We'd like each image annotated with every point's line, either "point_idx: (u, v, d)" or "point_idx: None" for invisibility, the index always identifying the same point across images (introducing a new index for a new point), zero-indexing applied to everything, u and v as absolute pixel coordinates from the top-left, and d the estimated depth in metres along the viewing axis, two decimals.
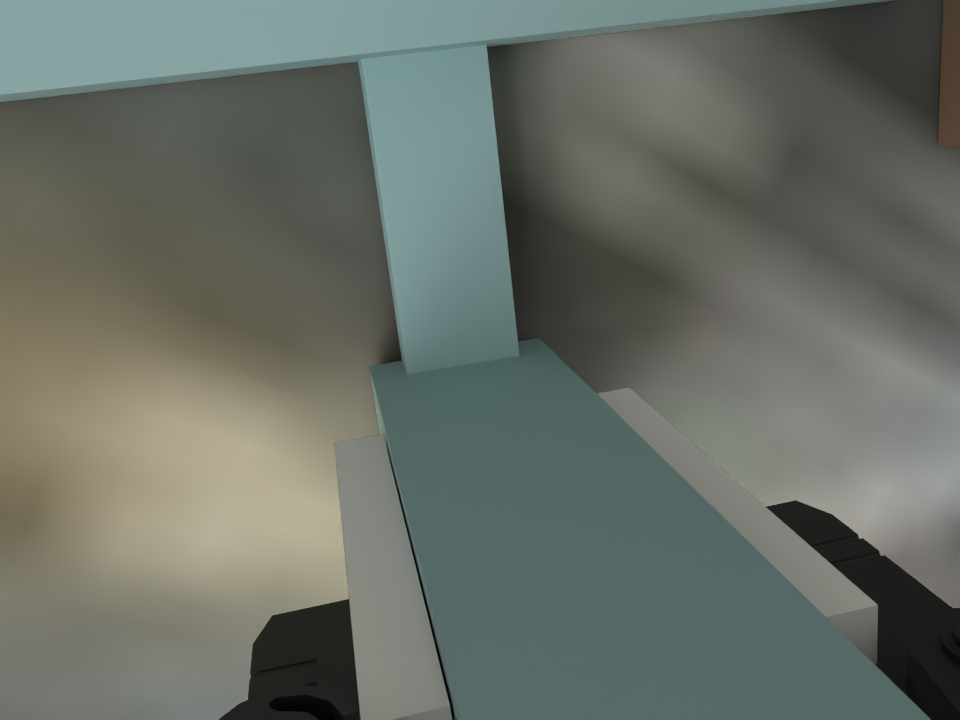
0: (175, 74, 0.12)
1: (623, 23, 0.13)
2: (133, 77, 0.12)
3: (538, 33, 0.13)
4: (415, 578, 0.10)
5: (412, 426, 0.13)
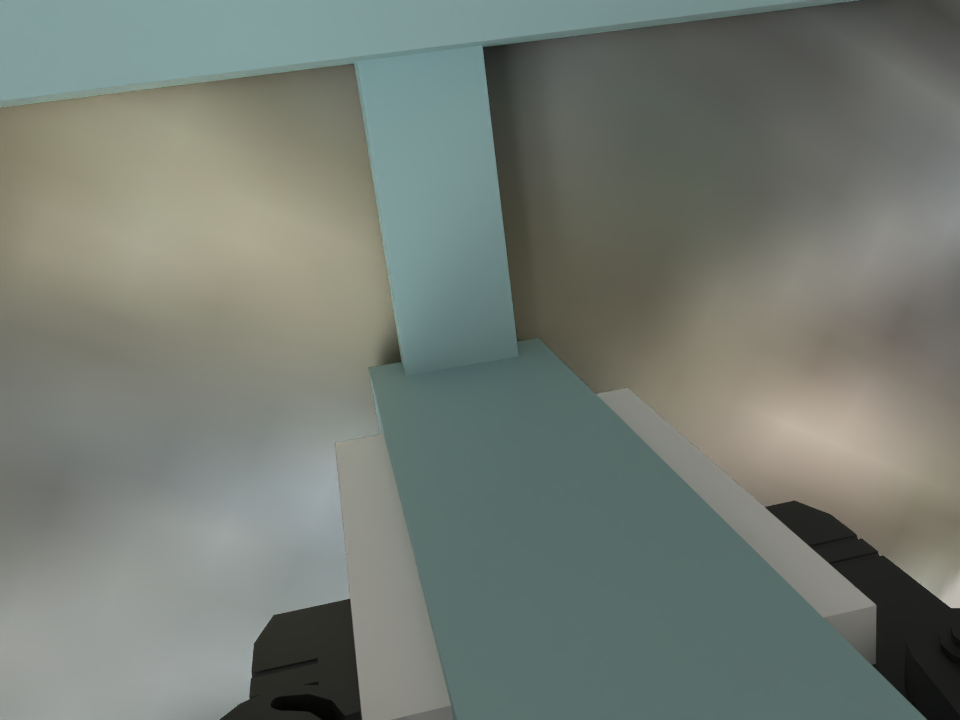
0: (171, 78, 0.12)
1: (619, 22, 0.13)
2: (129, 83, 0.12)
3: (534, 33, 0.13)
4: (416, 578, 0.10)
5: (412, 428, 0.13)
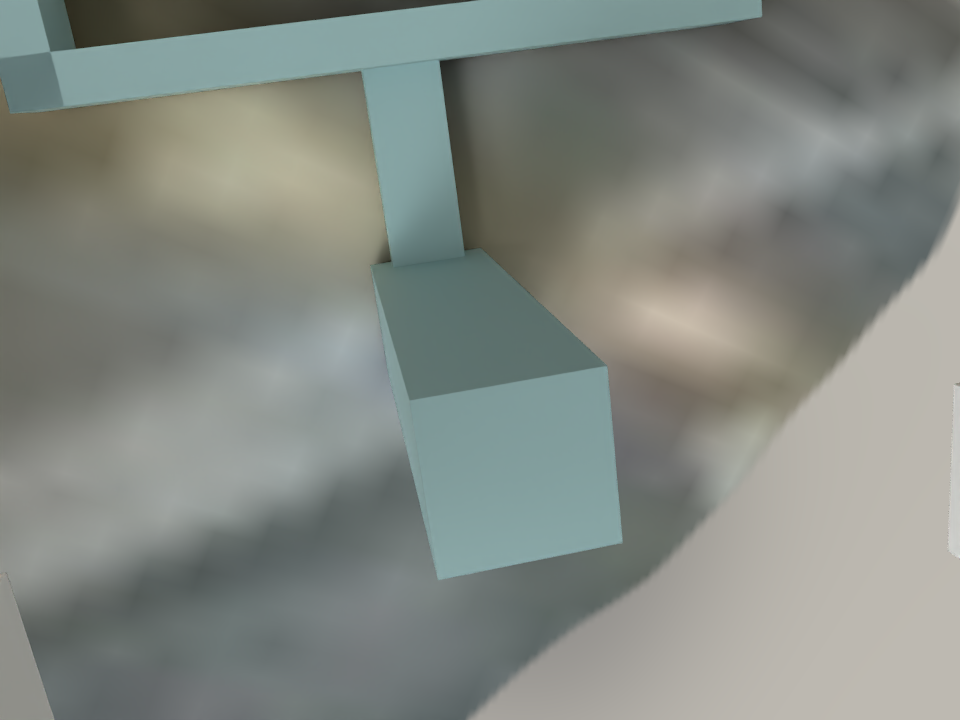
0: (255, 81, 0.21)
1: (516, 47, 0.22)
2: (232, 83, 0.21)
3: (465, 54, 0.22)
4: None
5: (393, 287, 0.22)
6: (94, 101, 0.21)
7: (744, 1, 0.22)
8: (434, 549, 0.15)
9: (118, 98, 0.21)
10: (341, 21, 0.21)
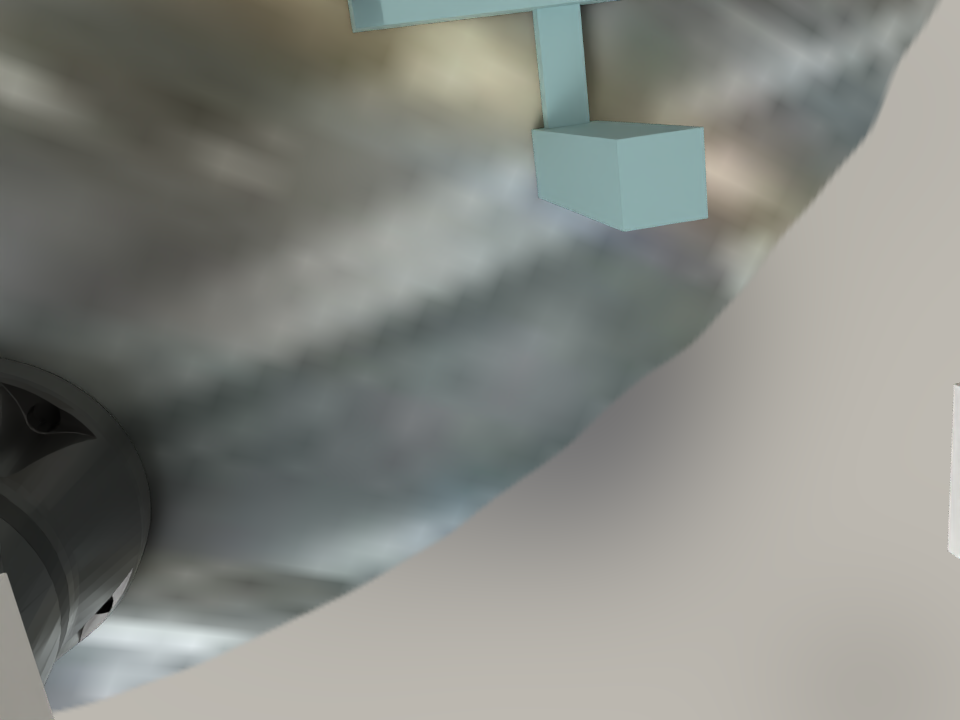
0: (486, 12, 0.38)
1: None
2: (473, 13, 0.38)
3: None
4: None
5: (559, 130, 0.39)
6: (400, 22, 0.37)
7: None
8: (622, 215, 0.31)
9: (412, 21, 0.37)
10: None
